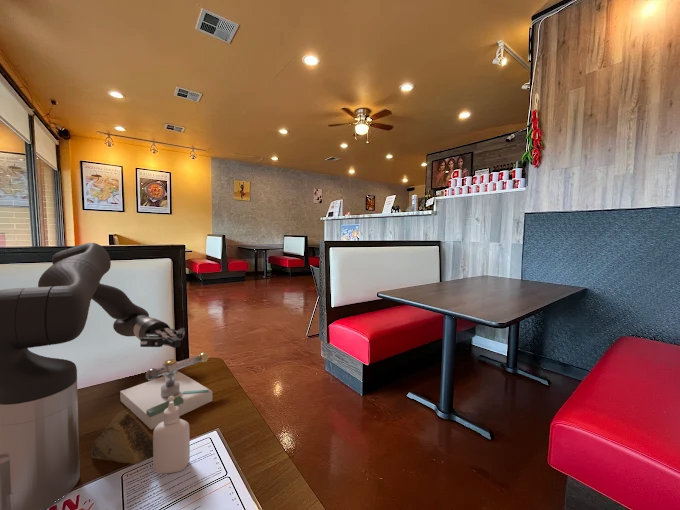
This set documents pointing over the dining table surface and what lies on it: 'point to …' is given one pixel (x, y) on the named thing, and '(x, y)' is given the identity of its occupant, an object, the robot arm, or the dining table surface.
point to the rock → (123, 441)
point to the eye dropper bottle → (171, 442)
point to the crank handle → (174, 368)
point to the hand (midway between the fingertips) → (177, 343)
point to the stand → (164, 398)
